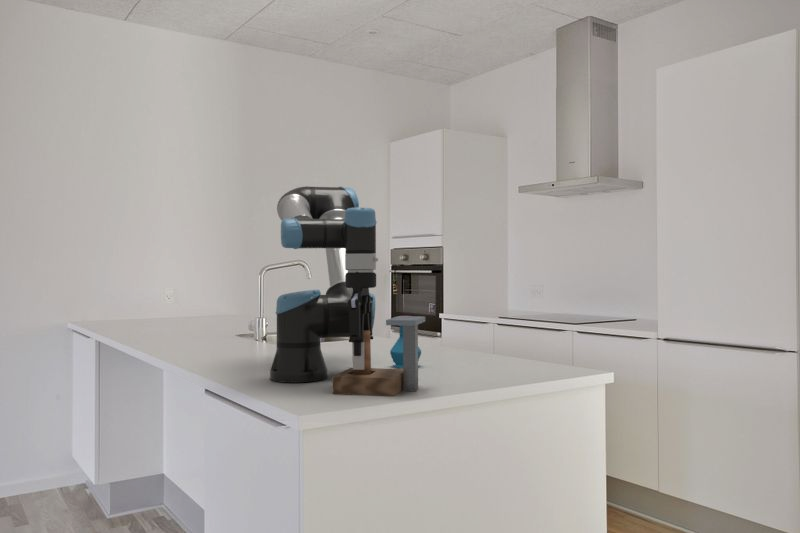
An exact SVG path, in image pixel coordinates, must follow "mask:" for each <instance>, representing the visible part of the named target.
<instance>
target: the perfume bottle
mask: <svg viewBox="0 0 800 533" xmlns="http://www.w3.org/2000/svg"><path fill="white" fill-rule="evenodd" d="M398 326H399V337H398V338H397V340H396V341H395V343H394V345H393V346H392V347H391V349H390V352H389V354H390V357H391V359H392V362H393V363H394V368H395V369H403V325H398ZM421 355H422V349H421V348H420V347H419V346H418V362H419V361H420V360H419V359H420V358H421Z"/></svg>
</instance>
